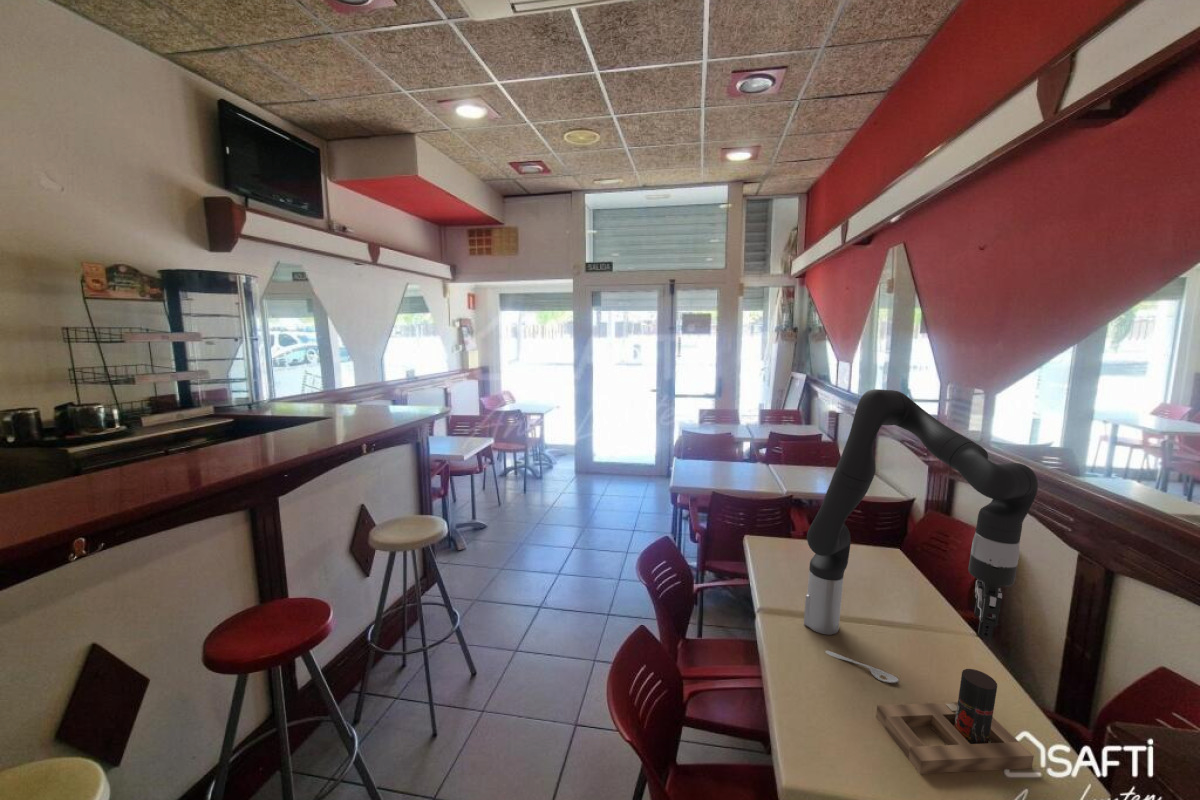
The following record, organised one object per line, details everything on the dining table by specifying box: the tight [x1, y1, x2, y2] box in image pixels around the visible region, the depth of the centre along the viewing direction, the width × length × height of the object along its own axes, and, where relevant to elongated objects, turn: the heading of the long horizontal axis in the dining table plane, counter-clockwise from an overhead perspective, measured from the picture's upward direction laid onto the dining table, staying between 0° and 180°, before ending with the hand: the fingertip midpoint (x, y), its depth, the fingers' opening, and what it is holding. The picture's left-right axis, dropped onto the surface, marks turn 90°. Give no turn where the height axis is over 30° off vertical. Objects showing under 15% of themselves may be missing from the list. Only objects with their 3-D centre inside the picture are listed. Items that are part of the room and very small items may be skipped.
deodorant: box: [954, 668, 998, 744], centre depth 102 cm, size 6×6×15 cm
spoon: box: [824, 650, 900, 684], centre depth 126 cm, size 4×21×2 cm, turn 46°
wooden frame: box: [875, 701, 1035, 775], centre depth 102 cm, size 24×14×3 cm, turn 93°
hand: (982, 626), depth 100 cm, fingers open, 8 cm apart
